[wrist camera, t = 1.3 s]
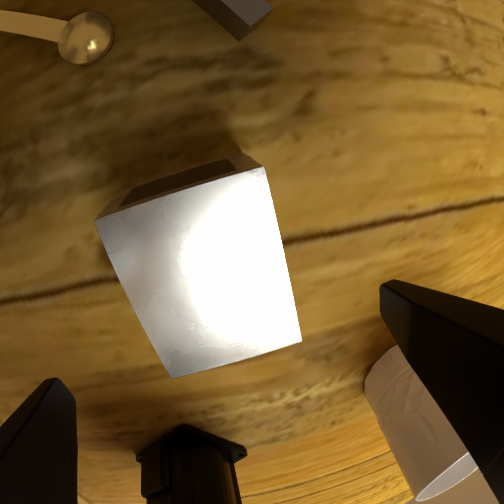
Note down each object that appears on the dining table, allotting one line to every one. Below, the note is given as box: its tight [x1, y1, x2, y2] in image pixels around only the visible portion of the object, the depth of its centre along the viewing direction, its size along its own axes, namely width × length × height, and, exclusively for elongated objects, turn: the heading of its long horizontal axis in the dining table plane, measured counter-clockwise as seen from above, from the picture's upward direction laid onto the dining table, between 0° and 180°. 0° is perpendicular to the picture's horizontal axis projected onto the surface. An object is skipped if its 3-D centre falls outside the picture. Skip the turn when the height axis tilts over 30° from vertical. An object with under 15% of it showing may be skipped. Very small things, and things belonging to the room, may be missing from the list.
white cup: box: [364, 344, 478, 502], centre depth 17 cm, size 8×8×10 cm
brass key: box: [0, 10, 115, 66], centre depth 9 cm, size 7×2×1 cm, turn 64°
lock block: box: [94, 152, 302, 378], centre depth 13 cm, size 7×6×4 cm
